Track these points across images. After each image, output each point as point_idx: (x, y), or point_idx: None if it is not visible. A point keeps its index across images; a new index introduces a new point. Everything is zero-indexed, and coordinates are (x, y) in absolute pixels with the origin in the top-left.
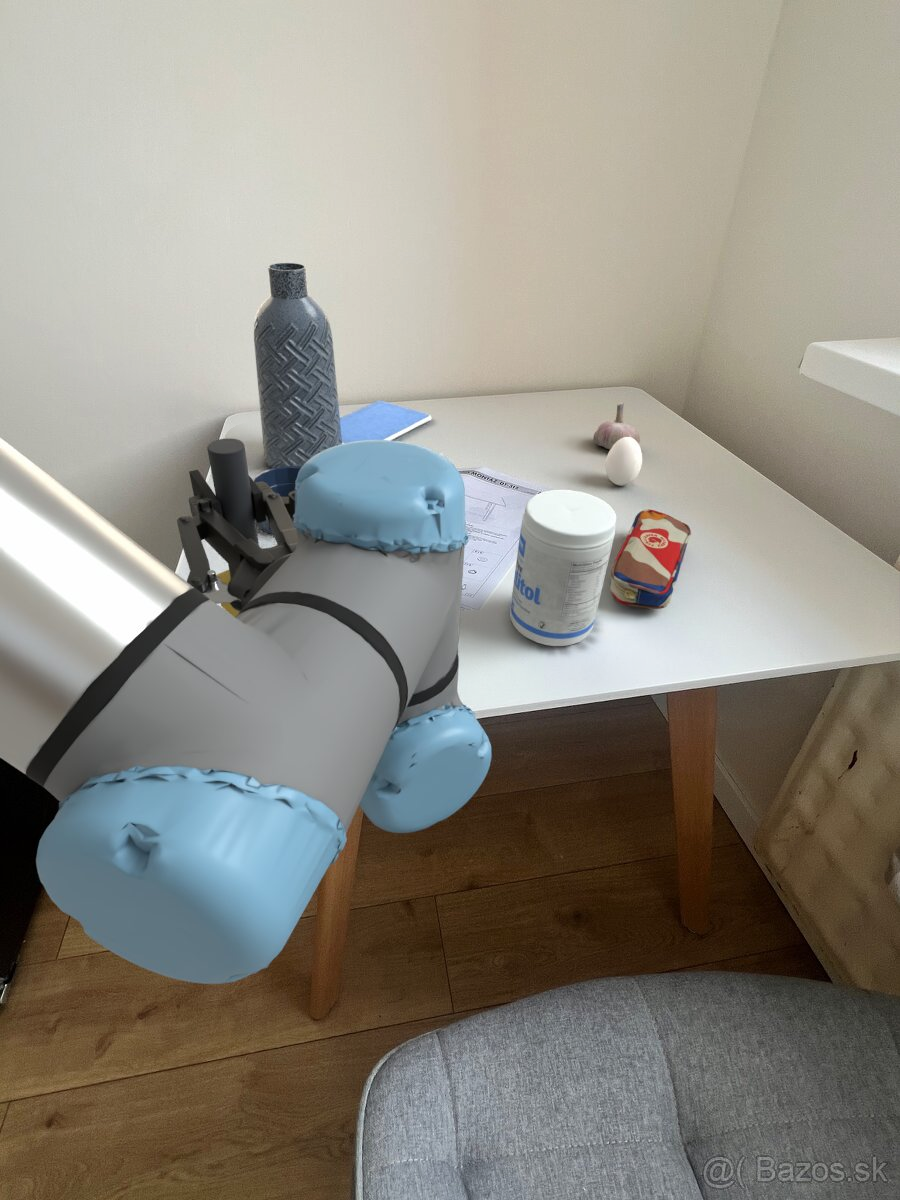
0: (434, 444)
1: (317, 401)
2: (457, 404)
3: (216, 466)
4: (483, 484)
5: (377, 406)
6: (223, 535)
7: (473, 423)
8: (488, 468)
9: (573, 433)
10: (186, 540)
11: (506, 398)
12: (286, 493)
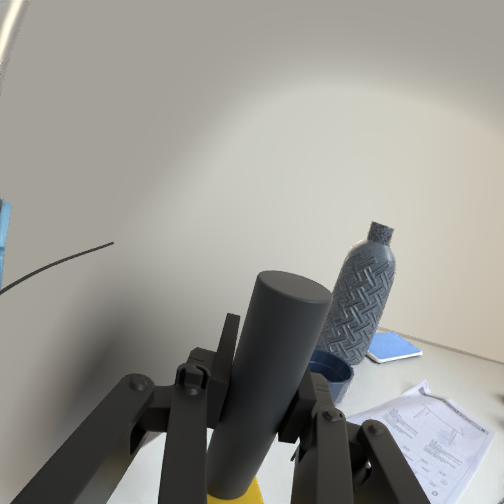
0: (421, 371)
1: (368, 315)
2: (435, 350)
3: (255, 316)
4: (450, 412)
5: (391, 335)
6: (163, 480)
7: (444, 365)
8: (453, 400)
9: (495, 389)
10: (83, 432)
11: (460, 355)
12: (317, 370)
